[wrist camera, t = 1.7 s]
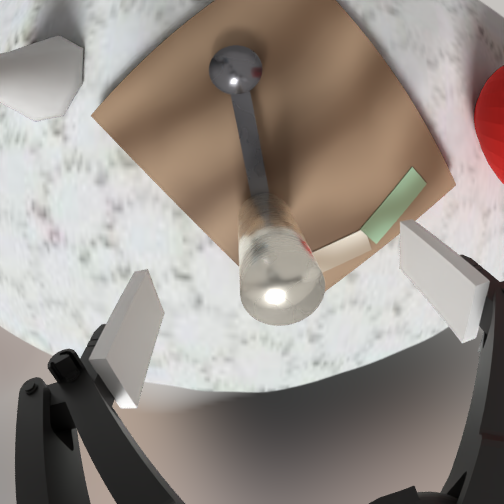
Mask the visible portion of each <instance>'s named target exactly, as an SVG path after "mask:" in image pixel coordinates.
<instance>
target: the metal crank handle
mask: <svg viewBox="0 0 504 504" xmlns="http://www.w3.org/2000/svg"><path fill="white" fill-rule="evenodd" d="M209 76H210V79H211V81H212V82H213V84H214V85H215V86H216V87H217V88H218V89H219V90H220V91H222V92H224V93H226V94H229V95H231V99H232V104H233V109H234V114H235V119H236V124H237V129H238V134H239V139H240V144H241V149H242V154H243V159H244V164H245V169H246V174H247V179H248V184H249V189H250V194H251V197H250V198H249V199H247V200H246V201H245V202H244V203H243V205H242V206H241V208H240V210H239V213H238V245H239V273H240V296H241V301H242V304H243V306H244V308H245V309H246V311H247V312H248V313H249V314H250V315H251V316H252V317H253V318H255V319H256V320H258V321H260V322H262V323H265V324H269V325H277V326H281V325H289V324H293V323H296V322H299V321H301V320H303V319H305V318H306V317H308V316H309V315H310V314H312V313H313V312H314V311H315V310H316V309H317V307H318V306H319V304H320V303H321V301H322V299H323V296H324V293H325V279H324V276H323V273H322V271H321V269H320V267H319V265H318V263H317V261H316V259H315V257H314V255H313V253H312V251H311V249H310V247H309V245H308V243H307V241H306V239H305V238H304V236H303V234H302V232H301V230H300V228H299V226H298V224H297V222H296V220H295V218H294V216H293V214H292V212H291V211H290V209H289V207H288V205H287V204H286V202H285V201H284V200H283V199H281V198H280V197H278V196H276V195H273V194H269V189H268V184H267V178H266V173H265V167H264V162H263V156H262V151H261V146H260V140H259V135H258V130H257V125H256V119H255V114H254V109H253V104H252V99H251V94H250V90H252V89H253V88H254V87H255V86H256V85H257V84H258V82H259V81H260V78H261V76H262V63H261V60H260V58H259V57H258V55H257V54H256V53H255V52H254V51H252V50H251V49H249V48H247V47H244V46H239V45H233V46H228V47H225V48H223V49H221V50H219V51H218V52H217V53H216V54H215V55H214V56H213V58H212V59H211V62H210V65H209Z"/></svg>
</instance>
